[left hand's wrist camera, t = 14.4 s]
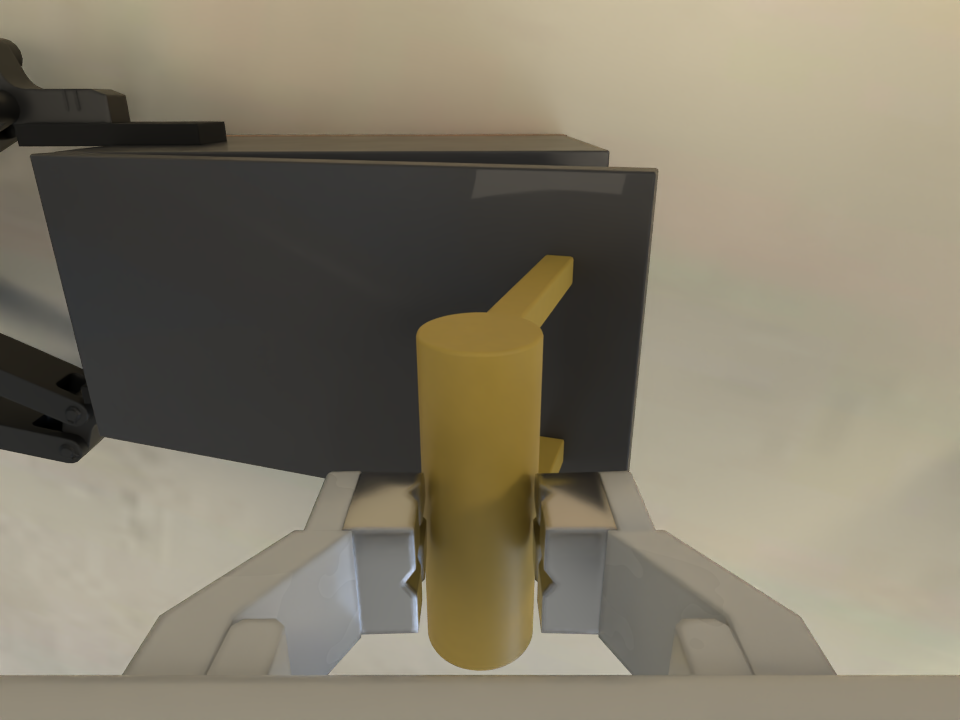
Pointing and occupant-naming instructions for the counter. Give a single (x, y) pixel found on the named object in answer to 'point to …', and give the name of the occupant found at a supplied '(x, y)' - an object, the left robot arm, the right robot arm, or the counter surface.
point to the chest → (390, 148)
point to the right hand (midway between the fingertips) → (232, 266)
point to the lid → (369, 335)
